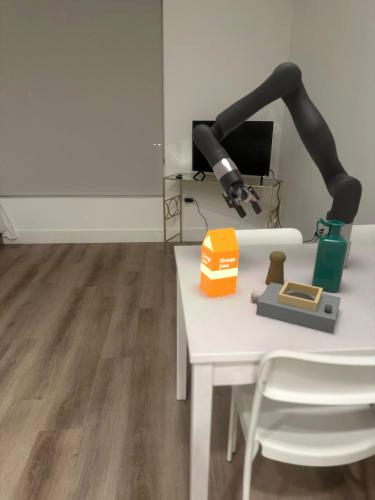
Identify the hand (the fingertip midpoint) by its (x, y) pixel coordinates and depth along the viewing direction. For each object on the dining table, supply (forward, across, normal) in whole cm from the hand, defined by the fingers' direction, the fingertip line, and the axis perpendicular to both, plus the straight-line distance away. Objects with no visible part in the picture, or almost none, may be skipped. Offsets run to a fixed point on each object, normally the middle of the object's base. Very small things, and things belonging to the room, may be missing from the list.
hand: (252, 214), depth 119 cm
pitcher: (+31, +11, -2) cm, 33 cm away
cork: (+23, 0, +7) cm, 24 cm away
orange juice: (+17, -18, +13) cm, 28 cm away
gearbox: (+32, -12, -3) cm, 34 cm away
